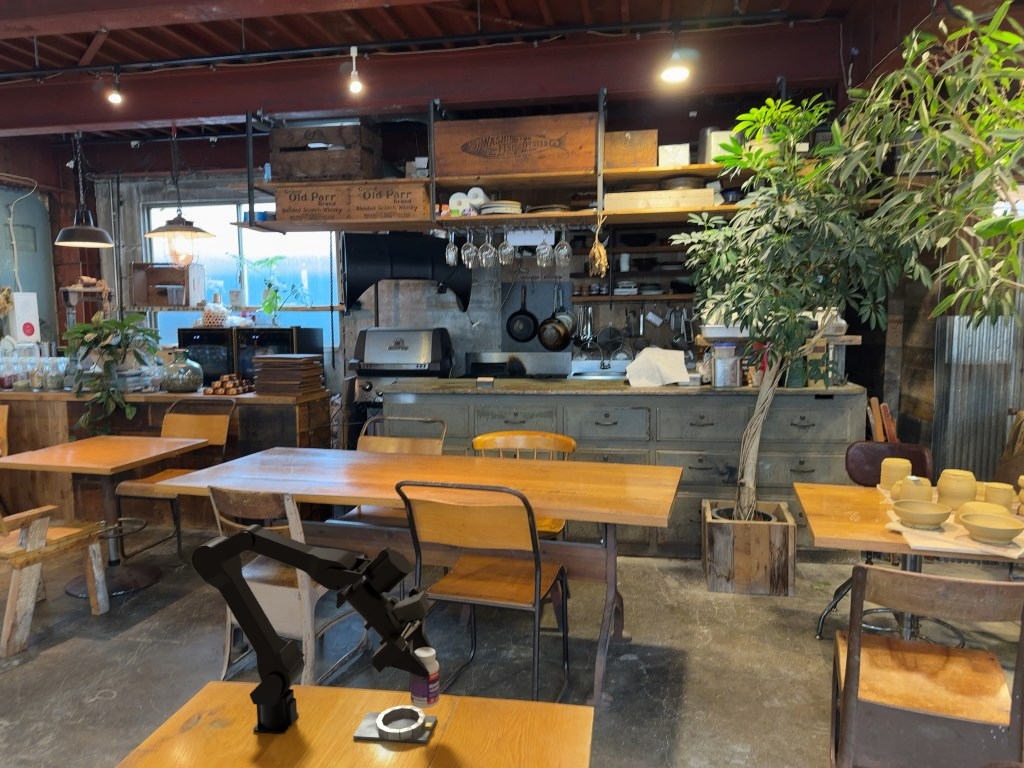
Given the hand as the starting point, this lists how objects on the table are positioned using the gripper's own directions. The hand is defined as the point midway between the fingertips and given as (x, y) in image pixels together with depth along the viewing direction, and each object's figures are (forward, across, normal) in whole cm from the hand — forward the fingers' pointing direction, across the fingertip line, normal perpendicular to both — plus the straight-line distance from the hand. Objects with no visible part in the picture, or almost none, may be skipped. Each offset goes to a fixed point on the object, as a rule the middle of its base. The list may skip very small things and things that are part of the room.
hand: (431, 668), depth 128 cm
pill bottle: (+4, 0, +6) cm, 7 cm away
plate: (+4, 0, +14) cm, 15 cm away
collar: (+5, 0, +12) cm, 13 cm away
